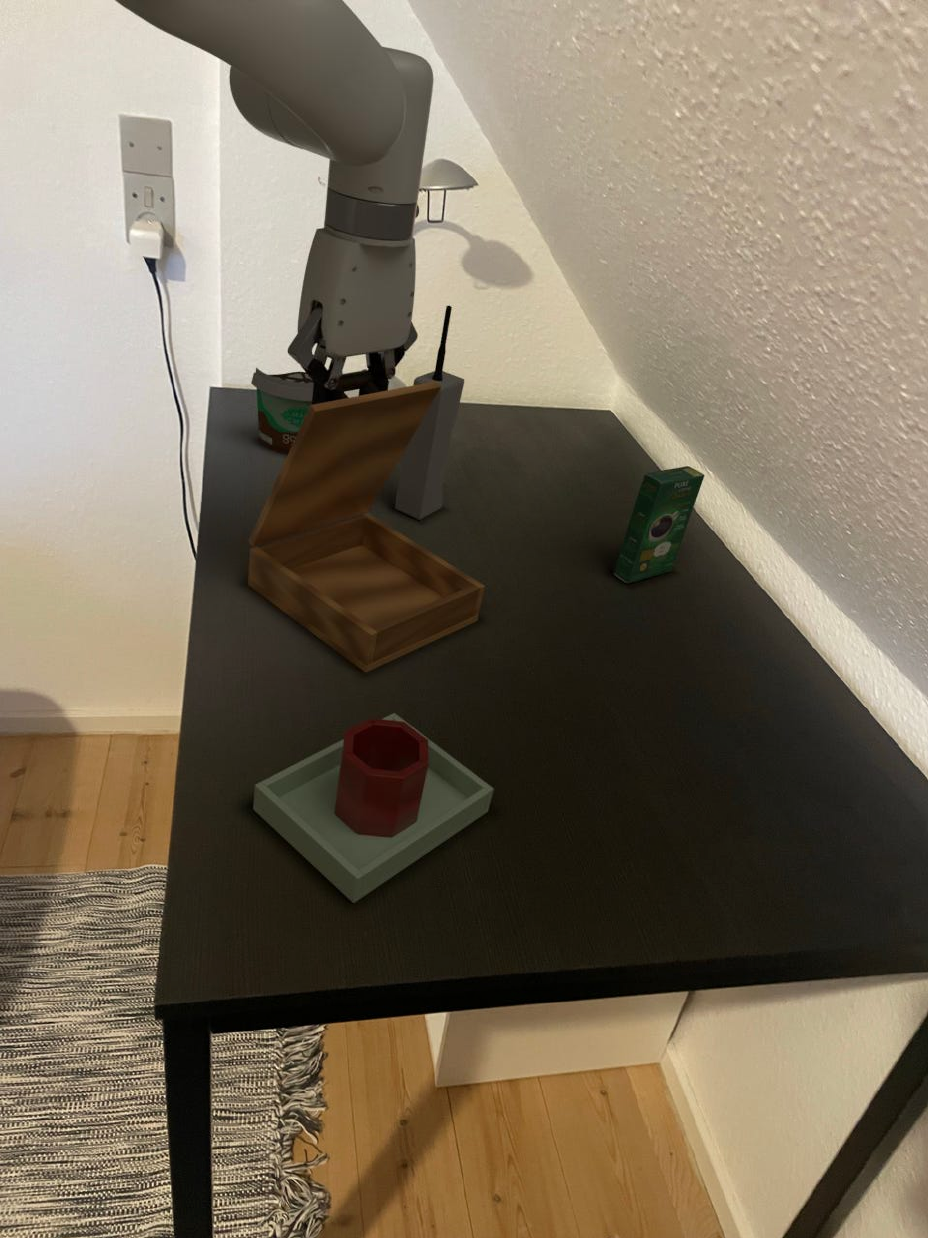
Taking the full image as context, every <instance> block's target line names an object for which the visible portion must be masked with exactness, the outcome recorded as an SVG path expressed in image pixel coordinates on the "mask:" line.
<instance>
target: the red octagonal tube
mask: <svg viewBox="0 0 928 1238" xmlns="http://www.w3.org/2000/svg"><path fill="white" fill-rule="evenodd" d="M408 724H409V723H408ZM408 724H406V723H405V722H401V721H392V720H383V718H373V717H370V718H368V719H366V720H364V721H363V722H360V723H358V724H356V725H354V726H352V727H350V728H348V729H347V730H345V731H344V734H343V739H344V741H343V749H342V756H341V763H340V770H339V778H338V785H337V793H336V803H335V815H336V816H337V817H338V818H339V819H341V820H342V821H343V822H344V823H345V824H346V825H347V826H348V827H350V828H351V829H352V830H353V831H354V832H355V833H356V834H358V835H369V836H380V837H394V836H395V835H397V834H399V833H400V832H402V831H403V830H405V829H406V828H408V827H409V826H411V825H413V824H414V823H416V822H417V818H418V813H419V808H420V803H421V798H422V794H423V789H424V784H425V779H426V774H427V769H428V764H429V751H428V740H427V739H426V738H425V737H426V736H425V737H423V736H422V735H421V734H422V733H421V734H419V733H418V732H417V731H418V730H417V729H416V730H417V731H416V730H414V729H413V728H414V727H413V726H412V727H413V728H412V727H410V726H409V725H408Z"/></svg>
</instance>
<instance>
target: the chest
mask: <svg viewBox="0 0 928 1238" xmlns="http://www.w3.org/2000/svg"><path fill="white" fill-rule="evenodd" d="M248 561H249V562H248V563H249V564H248V575H247V576H248V579H247V585H248V586H249V587H250V588H251V589H253V591H255V592H256V593H258V594H259V595H260V596H261V597H263V598H265V599H266V600H267V601H269V603H271V604H273V605H274V606H275V607H277V608H278V609H279V610H281V611H282V613H283V612H284V613H285V614H286V615H287V616H288V617H290V618H291V619H293V620H294V621H295V622H297V624H299V625H301V626H302V627H304V628H305V629H306V630H307V631H309V632H310V633H311V634H312V635H314V636H315V637H317V638H318V639H319V640H320V641H322V642H323V643H325V644H326V645H328V646H329V647H330V648H331V649H333V650H334V651H335V652H337V653H338V654H340V655H341V656H342V657H343V658H345V659H346V660H347V661H349V662H350V663H351V664H353V665H354V666H355V667H357V668H358V669H359V670H361V671H362V672H363V673H364V674H366V673H369V672H370V671H372V670H376V669H378V668H380V667H381V666H383V665H386V664H388V663H390V662H393V661H395V660H397V659H399V658H401V657H403V656H405V655H407V654H409V653H411V652H414V651H416V650H418V649H420V648H422V647H424V646H427V645H428V644H430V643H434V642H435V641H437V640H439V639H442V638H443V637H446V636H449V635H450V634H453V633H455V632H456V631H459V630H461V629H463V628H465V627H468V626H470V625H472V624H474V623H476V622H478V619H479V614H480V610H481V605H482V600H483V596H484V592H485V587H486V586H485V585H484V584H483V583H481V582H479V581H478V580H476V579H475V578H473V577H471V576H470V575H469V574H466V573H465V572H463V571H462V570H460V569H458V568H457V567H455V566H454V565H452V564H451V563H448V561H446V560H444V559H442V558H441V557H439V556H437V555H436V554H435V553H433V552H431V551H429V550H428V549H427V548H425V547H423V546H422V545H420V544H418V543H417V542H415V541H414V540H412V539H411V538H409V537H407V536H405V535H403V534H402V533H401V532H399V531H397V530H396V529H394V528H393V527H391V526H389V525H387V524H386V523H385V522H383V521H381V520H380V519H378V518H376V517H375V516H374V515H372V514H370V513H368V512H364V513H361V514H358V515H355V516H351V517H348V518H345V519H342V520H338V521H335V522H332V523H329V524H325V525H322V526H319V527H316V528H312V529H309V530H306V531H303V532H299V533H296V534H293V535H290V536H286V537H283V538H280V539H277V540H273V541H270V542H267V543H264V544H260V545H257V546H254V547H250V548H249V560H248Z"/></svg>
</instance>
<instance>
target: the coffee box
mask: <svg viewBox="0 0 928 1238" xmlns="http://www.w3.org/2000/svg"><path fill="white" fill-rule="evenodd" d="M704 479H705V474H704V473H702V472H700V471H699V470H697V469H695V468H693V467H691V466H689V465H686V466H680V467H674V468H668V469H662V470H657V471H651V472H644V473H643V477H642V480H641V484H640V488H639V490H638V494H637V496H636V499H635V503H634V506H633V509H632V512H631V515H630V518H629V522H628V525H627V527H626V532H625V533H624V534H625V535H624V538H623V541H622V544H621V547H620V550H619V554H618V556H617V560H616V563H615V566H614V568H613V572H612V574H613V575H614V576H615V577H617V578H618V579H619V580H621V581H622V582H624V583H625V584H632V583H638V582H641V581H642V580H645V579H649V578H652V577H656V576H661V575H664V574H668V573H671V572H672V570H673V567H674V565H675V562H676V559H677V556H678V554H679V550H680V548H681V545H682V541H683V538H684V536H685V533H686V530H687V528H688V525H689V522H690V519H691V515H692V514H693V513H692V512H693V510H694V507H695V504H696V502H697V498H698V496H699V492H700V490H701V487H702V485H703V481H704Z"/></svg>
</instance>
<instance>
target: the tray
mask: <svg viewBox="0 0 928 1238" xmlns="http://www.w3.org/2000/svg"><path fill="white" fill-rule="evenodd" d="M382 719H383V720H392V721H401V722H405V723H406V724H408V725H409V726H410V727H412V728H413V729H414V730H416V731H417V732H418V733H419V734H421V735H422V736H423V737H425V738H426V739H427V740H428V751H429V764H428V769H427V774H426V779H425V784H424V789H423V794H422V798H421V803H420V808H419V813H418V818H417V822H416V823H414V824H413V825H411V826H409V827H408V828H406V829H405V830H403V831H402V832H400V833H399V834H397V835H395V836H394V837H380V836H369V835H358V834H356V833H355V832H354V831H353V830H352V829H351V828H350V827H348V826H347V825H346V824H345V823H344V822H343V821H342V820H341V819H339V818H338V817H337V816H336V815H335V803H336V793H337V785H338V778H339V770H340V763H341V756H342V749H343V741H344V738H343V739H340V740H338V741H337V742H334V743H333V744H331V745H329V746H327V747H325V748H324V749H321V750H319V751H317V752H316V753H313V754H312V755H310V756H307V757H306V758H304V759H302V760H300V761H298V762H296V763H294V764H292V765H290V766H289V767H287V768H285V769H283V770H281V771H279V772H277V773H275V774H273V775H271V776H270V777H268V778H265V779H264V780H261V781H259V782H258V783H256V784H254V791H253V793H254V794H253V805H252V806H253V807H252V810H253V811H254V812H255V813H256V814H258V816H260V818H262V820H264V821H265V822H266V823H267V824H268V825H269V826H270V827H271V828H273V829H274V830H275V832H277V833H278V834H279V835H280V837H282V838H283V839H284V840H285V841H286V842H287V843H288V844H289V845H291V846H292V848H294V850H296V851H297V852H298V853H299V854H300V855H301V856H302V857H303V858H305V859H306V861H308V862H309V864H311V865H312V866H313V867H314V868H315V869H316V870H317V871H318V872H319V873H320V874H321V875H323V876H324V877H325V878H326V879H327V880H328V881H329V882H330V883H331V884H332V885H334V887H335V888H336V889H338V891H339V892H341V894H343V895H344V896H345V897H346V898H347V899H348V900H349V901H350V902H351V903H352V904H355V903H357V902H358V901H359V900H361V899H362V898H364V897H365V896H367V895H368V894H370V893H371V892H372V891H374V890H376V889H377V888H378V887H380V886H381V885H383V884H384V883H386V882H387V881H388V880H390V879H392V878H393V877H394V876H396V875H398V874H399V873H400V872H401V871H403V870H405V869H406V868H407V867H409V866H411V865H412V864H414V863H415V862H416V861H418V860H419V859H421V858H422V857H424V856H426V854H428V853H430V852H431V851H432V850H434V849H436V848H437V847H439V846H440V845H441V844H443V843H445V842H446V841H447V840H449V839H450V838H452V837H453V836H454V835H456V834H457V833H459V832H460V831H462V830H464V829H465V828H466V827H468V826H469V825H471V824H472V823H473V822H475V821H476V820H479V818H482V816H484V815H485V814H487V813H488V812H489V809H490V805H491V802H492V797H493V794H494V790H495V789H494V787H492V786H491V785H490V784H488V783H487V782H485V780H483V779H482V778H481V777H479V776H478V775H476V774H475V773H474V772H473V771H472V770H470V769H469V768H467V767H466V766H465V765H463V764H462V763H461V762H460V761H458V760H457V759H456V758H455V757H453V756H452V755H450V754H449V753H448V752H447V751H445V750H444V749H443V748H441V747H440V746H438V745H437V744H436V743H435V742H433V741H432V740H431V739H429V738H428V737H426V735H424V734H423V733H422V732H420V731H419V730H418V729H416V728H415V727H414V726H412V725H411V724H410V723H408V722H407V721H405V720H404V719H403V718H402V717H401V716H399V715H398V714H397V713H395V712H393V713H391V714H389V715H386V716H385V717H383V718H382Z"/></svg>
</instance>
